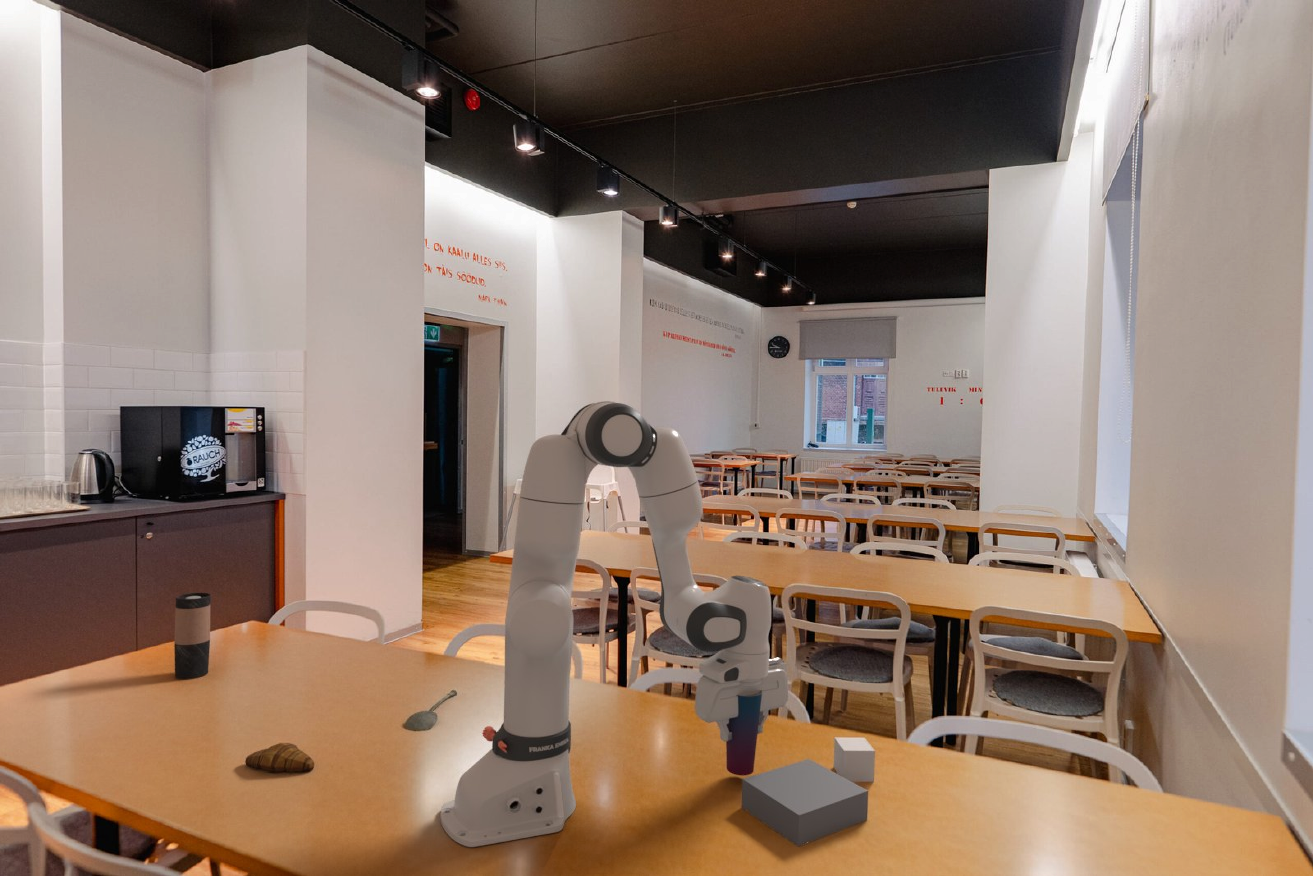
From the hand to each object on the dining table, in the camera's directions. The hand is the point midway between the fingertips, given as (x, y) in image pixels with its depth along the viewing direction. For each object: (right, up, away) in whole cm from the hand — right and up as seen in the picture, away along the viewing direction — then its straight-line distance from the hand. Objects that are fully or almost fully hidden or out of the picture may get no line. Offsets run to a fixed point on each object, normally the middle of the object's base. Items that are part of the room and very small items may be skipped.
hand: (741, 736), depth 139 cm
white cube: (+22, -9, +3) cm, 24 cm away
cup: (0, -6, 0) cm, 6 cm away
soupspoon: (-66, -7, +29) cm, 72 cm away
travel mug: (-134, -4, +48) cm, 142 cm away
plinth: (+9, -9, -12) cm, 17 cm away
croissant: (-87, -6, 0) cm, 87 cm away
